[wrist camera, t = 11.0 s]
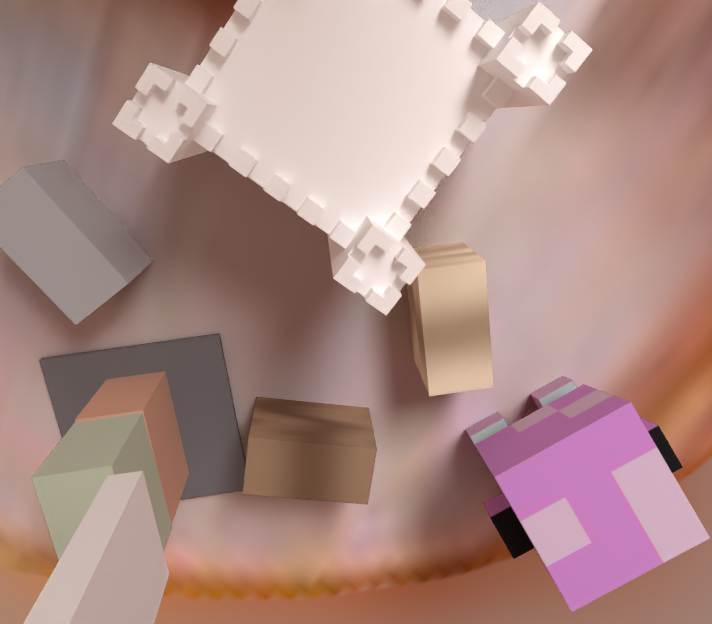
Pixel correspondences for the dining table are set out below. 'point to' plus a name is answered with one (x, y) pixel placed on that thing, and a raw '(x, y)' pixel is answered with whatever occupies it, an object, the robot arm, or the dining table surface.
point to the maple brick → (451, 320)
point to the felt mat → (189, 396)
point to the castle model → (353, 111)
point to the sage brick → (95, 473)
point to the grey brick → (66, 238)
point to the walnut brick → (310, 451)
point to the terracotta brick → (147, 424)
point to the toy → (586, 490)
